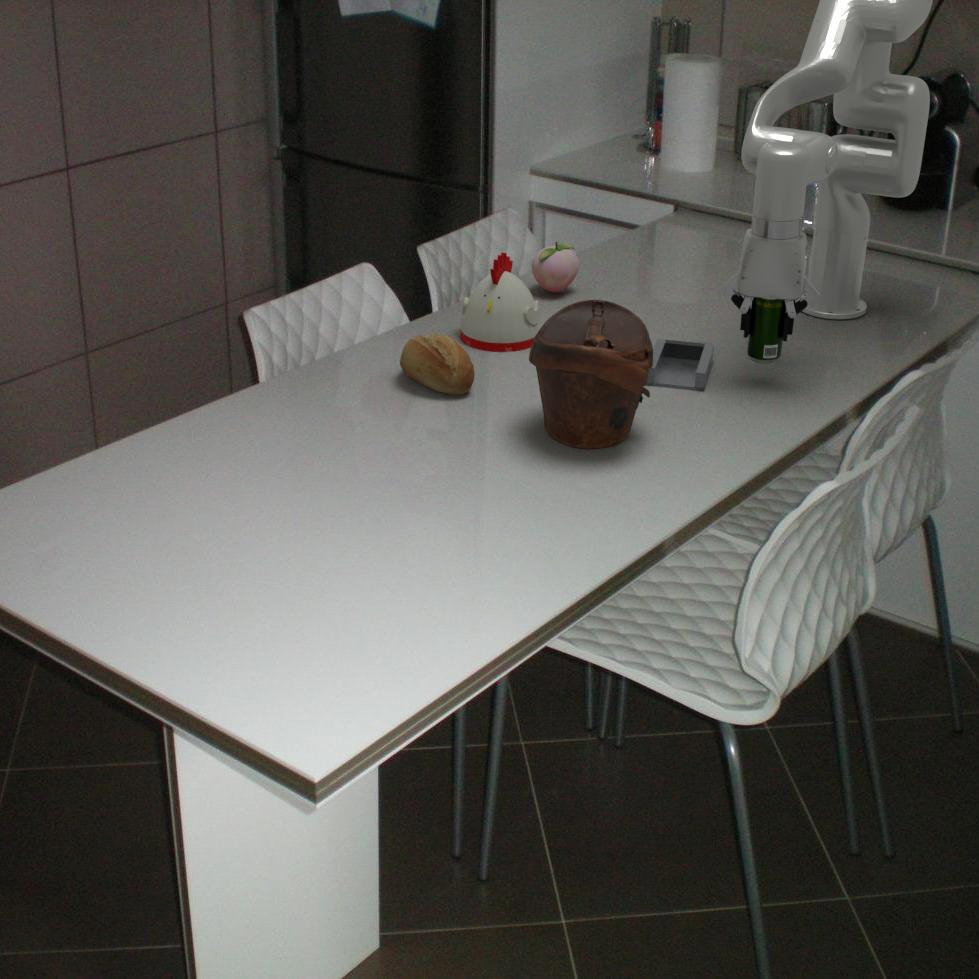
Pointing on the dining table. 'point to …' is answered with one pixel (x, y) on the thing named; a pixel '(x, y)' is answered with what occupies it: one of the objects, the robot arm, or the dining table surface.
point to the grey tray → (680, 364)
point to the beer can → (766, 330)
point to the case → (591, 372)
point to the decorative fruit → (555, 267)
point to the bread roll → (438, 363)
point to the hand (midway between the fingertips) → (765, 335)
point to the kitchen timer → (500, 312)
